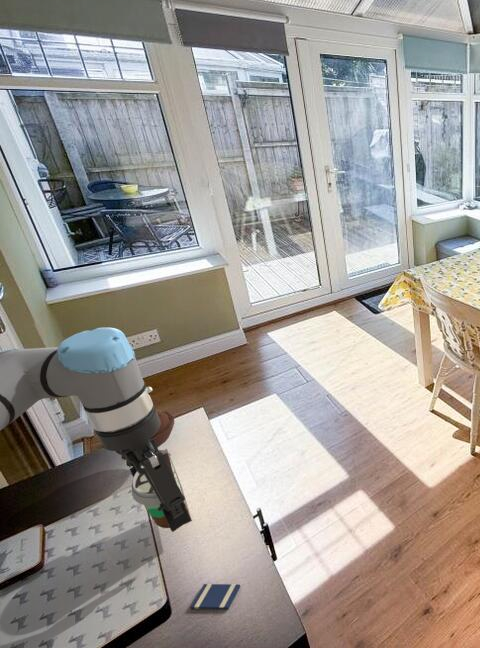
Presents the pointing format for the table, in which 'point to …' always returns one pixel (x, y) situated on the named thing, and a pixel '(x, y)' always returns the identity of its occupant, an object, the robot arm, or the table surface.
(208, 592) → the tea towel
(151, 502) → the food container
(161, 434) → the ice cream bowl
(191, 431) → the table surface
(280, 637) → the table surface
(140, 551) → the table surface
